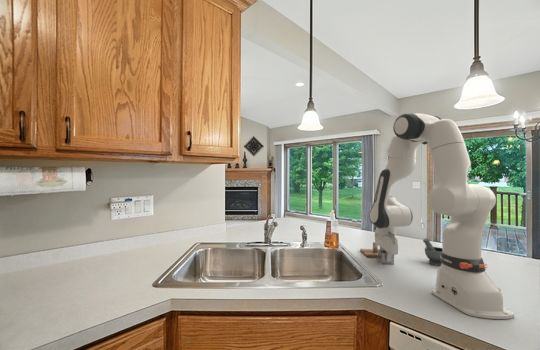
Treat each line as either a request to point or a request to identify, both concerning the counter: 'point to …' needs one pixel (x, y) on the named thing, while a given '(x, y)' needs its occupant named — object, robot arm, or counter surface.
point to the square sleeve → (384, 257)
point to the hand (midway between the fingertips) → (385, 258)
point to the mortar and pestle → (432, 253)
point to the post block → (371, 251)
